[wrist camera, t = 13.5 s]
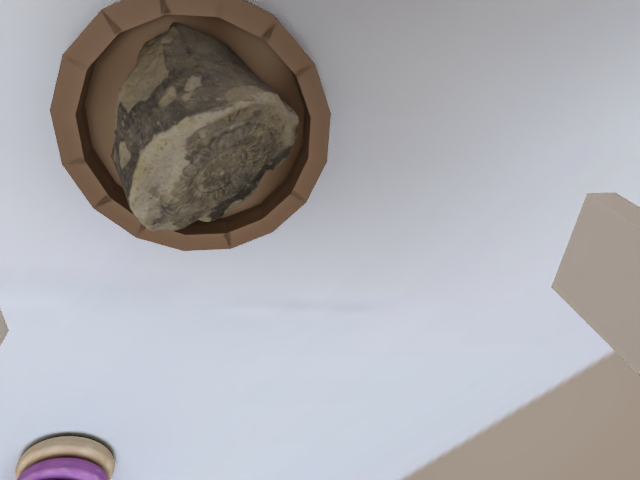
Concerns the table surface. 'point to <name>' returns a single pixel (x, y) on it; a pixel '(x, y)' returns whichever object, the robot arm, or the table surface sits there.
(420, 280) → the table surface
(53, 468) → the stacking toy
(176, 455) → the table surface
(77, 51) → the round tray
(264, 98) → the grey brown rock
